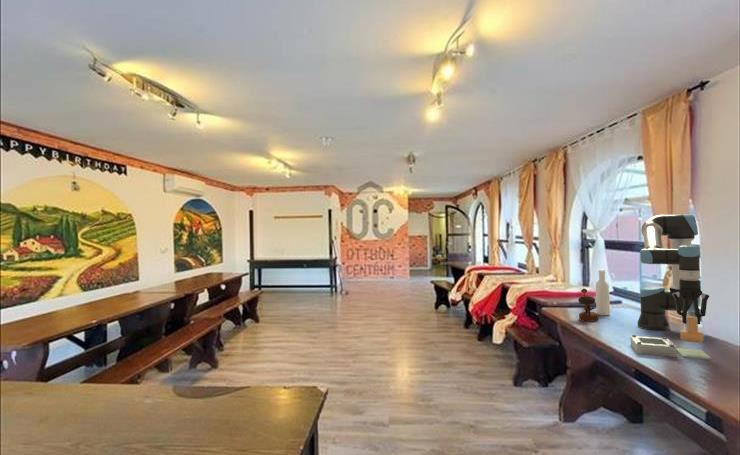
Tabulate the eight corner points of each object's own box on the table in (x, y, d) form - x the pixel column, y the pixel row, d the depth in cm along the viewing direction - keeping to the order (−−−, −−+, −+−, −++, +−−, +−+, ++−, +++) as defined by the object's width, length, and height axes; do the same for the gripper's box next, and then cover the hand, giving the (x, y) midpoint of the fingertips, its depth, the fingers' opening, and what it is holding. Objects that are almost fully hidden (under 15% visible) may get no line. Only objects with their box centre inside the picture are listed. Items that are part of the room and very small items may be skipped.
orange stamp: (678, 336, 184) (677, 314, 184) (700, 338, 180) (699, 315, 180) (683, 341, 176) (682, 318, 177) (706, 343, 173) (705, 319, 173)
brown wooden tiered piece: (574, 317, 256) (573, 286, 256) (592, 317, 255) (591, 286, 255) (585, 323, 241) (583, 290, 241) (603, 323, 239) (602, 290, 240)
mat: (675, 349, 186) (675, 347, 186) (701, 351, 182) (701, 350, 182) (682, 356, 175) (682, 355, 175) (711, 359, 171) (711, 357, 171)
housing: (630, 344, 195) (630, 334, 195) (667, 347, 188) (667, 337, 188) (636, 353, 181) (636, 342, 181) (676, 357, 175) (676, 345, 175)
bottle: (612, 315, 258) (610, 270, 258) (599, 315, 259) (597, 270, 259) (607, 313, 265) (605, 269, 266) (594, 313, 267) (593, 269, 267)
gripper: (671, 279, 179) (672, 331, 178) (714, 280, 172) (716, 334, 172) (666, 278, 185) (668, 327, 185) (708, 278, 179) (710, 330, 179)
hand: (691, 330), depth 178 cm, fingers closed on orange stamp, 2 cm apart
